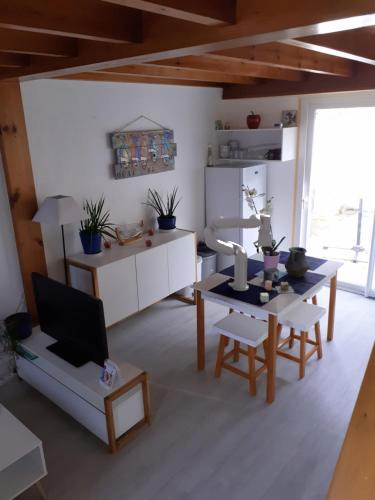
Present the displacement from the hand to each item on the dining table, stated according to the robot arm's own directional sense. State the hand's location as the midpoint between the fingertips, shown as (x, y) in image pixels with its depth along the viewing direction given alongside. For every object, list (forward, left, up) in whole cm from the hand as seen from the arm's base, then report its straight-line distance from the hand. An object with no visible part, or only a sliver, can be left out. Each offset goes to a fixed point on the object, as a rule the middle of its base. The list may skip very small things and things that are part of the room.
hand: (264, 252), depth 312 cm
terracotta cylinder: (+3, -4, -28) cm, 29 cm away
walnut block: (+15, -7, -28) cm, 32 cm away
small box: (+8, +10, -29) cm, 31 cm away
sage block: (-4, -24, -28) cm, 37 cm away
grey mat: (+15, -7, -28) cm, 33 cm away
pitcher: (+31, +19, -28) cm, 46 cm away
